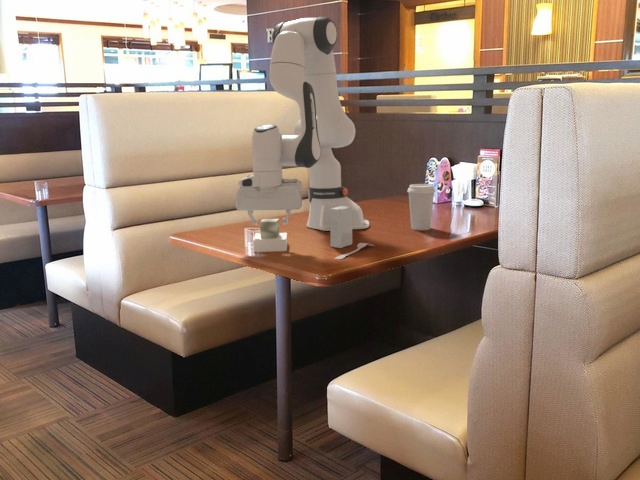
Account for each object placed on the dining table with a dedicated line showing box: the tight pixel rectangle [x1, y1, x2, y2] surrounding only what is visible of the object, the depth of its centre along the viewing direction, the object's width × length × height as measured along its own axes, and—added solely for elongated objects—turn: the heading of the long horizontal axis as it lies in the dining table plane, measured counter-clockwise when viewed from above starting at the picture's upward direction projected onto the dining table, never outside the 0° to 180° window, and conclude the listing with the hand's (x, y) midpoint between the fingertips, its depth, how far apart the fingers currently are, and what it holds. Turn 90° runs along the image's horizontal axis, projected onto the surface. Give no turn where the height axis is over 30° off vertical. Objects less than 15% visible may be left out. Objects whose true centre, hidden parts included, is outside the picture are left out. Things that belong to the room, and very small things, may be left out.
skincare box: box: [329, 206, 353, 249], centre depth 196 cm, size 6×4×12 cm
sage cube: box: [259, 218, 280, 238], centre depth 196 cm, size 5×5×5 cm
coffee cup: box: [407, 183, 436, 231], centre depth 218 cm, size 10×10×15 cm
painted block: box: [252, 232, 288, 253], centre depth 197 cm, size 10×10×4 cm
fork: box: [334, 242, 375, 260], centre depth 189 cm, size 3×21×3 cm, turn 145°
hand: (270, 224), depth 196 cm, fingers open, 8 cm apart
